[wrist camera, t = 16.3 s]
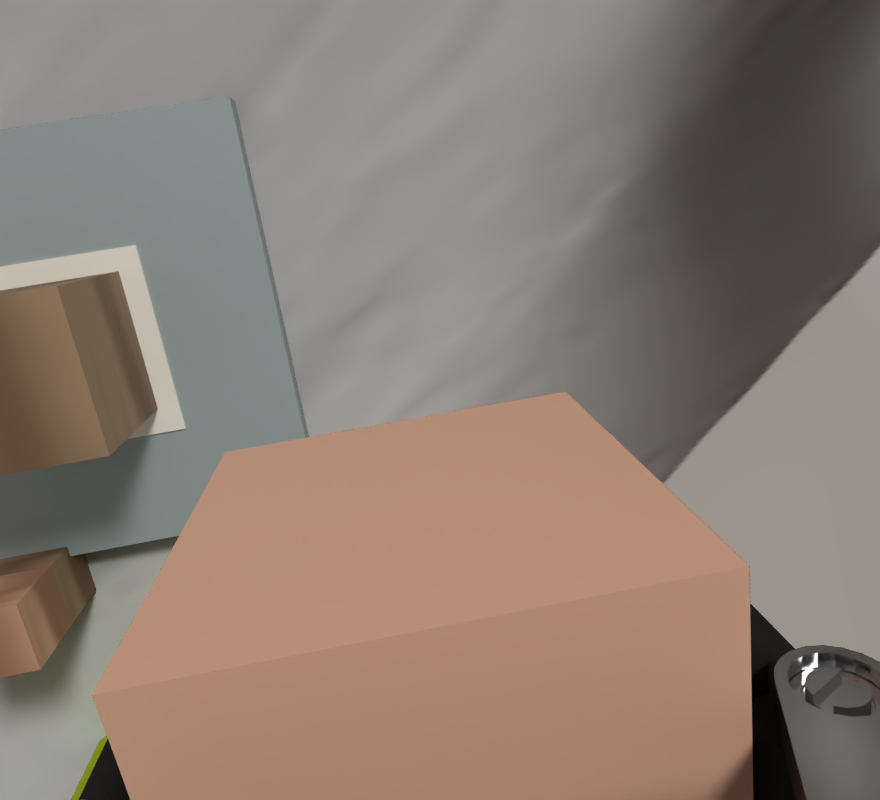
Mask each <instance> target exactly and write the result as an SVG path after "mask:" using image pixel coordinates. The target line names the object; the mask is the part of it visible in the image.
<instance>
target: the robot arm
mask: <svg viewBox="0 0 880 800" xmlns="http://www.w3.org/2000/svg"><path fill="white" fill-rule="evenodd" d="M750 625H751V684H752V744H753V800H880V662H879V661H877V660H875V659H873V658H871V657H868V656H866V655H864V654H862V653H859V652H856V651H852V650H849V649H845V648H841V647H833V646H824V645H819V646H805V647H801V648H798V649H795V648H793V646H792V645H791V644H790V643H788V641H787V640H786V639H785V638H784V637H783V636H782V635H781V634H780V633H779V632H778V631H777V630H776V629H775V628H774V627H773V626H772V625H771V624H770V623H769V622H768V621H767V620H766V619H765V618H764V617H763V616H762V615H761V614H760V613H759V612H758V611H757V610H756V609H755V608H754V607H753V606H752V605H751V604H750ZM78 800H130V797H129V795H128V792H127V789H126V786H125V784H124V781H123V778H122V775H121V773H120V770H119V767H118V764H117V762H116V759H115V756H114V754H113V751H112V748H111V745H110V743H109V740H108V739H107V741H106V743H105V745H104V747H103V749H102V751H101V753H100V756H99V758H98V760H97V762H96V764H95V766H94V768H93V770H92V772H91V774H90V776H89V779H88V781H87V783H86V785H85V787H84V789H83V791H82V793H81V795H80V797H79V799H78Z"/></svg>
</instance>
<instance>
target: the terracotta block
mask: <svg viewBox="0 0 880 800" xmlns="http://www.w3.org/2000/svg"><path fill="white" fill-rule="evenodd" d="M749 568H750V567H749V565H748V564H747V563H746V562H745V561H744V560H743V559H742V558H741V557H740V556H739V555H738V554H736V552H734V551H733V550H732V549H731V548H730V547H729V546H728V545H727V544H726V543H725V542H724V541H723V540H722V539H721V538H720V537H719V536H718V535H716V534H715V533H714V532H713V531H712V530H711V529H710V528H709V527H708V526H707V525H706V524H705V523H704V522H703V521H702V520H701V519H700V518H699V517H697V516H696V515H695V514H694V513H693V512H692V511H691V510H690V509H689V508H688V507H687V506H686V505H685V504H684V503H683V502H682V501H681V500H679V499H678V498H677V497H676V496H675V495H674V494H673V493H672V492H671V491H670V490H669V489H668V488H667V487H666V486H665V485H664V484H663V483H662V482H661V481H659V480H658V479H657V478H656V477H655V476H654V475H653V474H652V473H651V472H650V471H649V470H648V469H647V468H646V467H645V466H644V465H643V464H641V463H640V462H639V461H638V460H637V459H636V458H635V457H634V456H633V455H632V454H631V453H630V452H629V451H628V450H627V449H626V448H625V447H624V446H622V445H621V444H620V443H619V442H618V441H617V440H616V439H615V438H614V437H613V436H612V435H611V434H610V433H609V432H608V431H607V430H606V429H604V428H603V427H602V426H601V425H600V424H599V423H598V422H597V421H596V420H595V419H594V418H593V417H592V416H591V415H590V414H589V413H588V412H587V411H585V410H584V409H583V408H582V407H581V406H580V405H579V404H578V403H577V402H576V401H575V400H574V399H573V398H572V397H571V396H570V395H569V394H567V393H566V392H561V393H555V394H549V395H544V396H538V397H532V398H527V399H521V400H516V401H510V402H504V403H499V404H493V405H487V406H482V407H476V408H470V409H465V410H459V411H454V412H448V413H442V414H437V415H431V416H425V417H420V418H414V419H408V420H403V421H397V422H392V423H386V424H380V425H375V426H369V427H363V428H358V429H352V430H347V431H341V432H335V433H330V434H324V435H318V436H313V437H307V438H301V439H296V440H290V441H285V442H279V443H273V444H268V445H262V446H256V447H251V448H245V449H239V450H234V451H228V452H225V453H224V455H223V457H222V459H221V461H220V462H219V464H218V466H217V468H216V470H215V472H214V473H213V475H212V477H211V479H210V481H209V482H208V484H207V486H206V488H205V490H204V492H203V493H202V495H201V497H200V499H199V501H198V503H197V504H196V506H195V508H194V510H193V512H192V513H191V515H190V517H189V519H188V521H187V523H186V524H185V526H184V528H183V530H182V532H181V534H180V535H179V537H178V539H177V541H176V543H175V545H174V546H173V548H172V550H171V552H170V554H169V555H168V557H167V559H166V561H165V563H164V565H163V566H162V568H161V570H160V572H159V574H158V576H157V577H156V579H155V581H154V583H153V585H152V587H151V588H150V590H149V592H148V594H147V596H146V597H145V599H144V601H143V603H142V605H141V607H140V608H139V610H138V612H137V614H136V616H135V618H134V619H133V621H132V623H131V625H130V627H129V628H128V630H127V632H126V634H125V636H124V638H123V639H122V641H121V643H120V645H119V647H118V649H117V650H116V652H115V654H114V656H113V658H112V660H111V661H110V663H109V665H108V667H107V669H106V670H105V672H104V674H103V676H102V678H101V680H100V681H99V683H98V685H97V687H96V689H95V691H94V692H93V694H92V696H93V699H94V702H95V704H96V707H97V710H98V713H99V715H100V718H101V721H102V724H103V726H104V729H105V732H106V734H107V737H108V740H109V743H110V745H111V748H112V751H113V754H114V756H115V759H116V762H117V764H118V767H119V770H120V773H121V775H122V778H123V781H124V784H125V786H126V789H127V792H128V795H129V797H130V800H753V744H752V684H751V625H750V569H749Z"/></svg>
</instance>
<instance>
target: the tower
mask: <svg viewBox="0 0 880 800" xmlns="http://www.w3.org/2000/svg"><path fill="white" fill-rule="evenodd" d="M95 591H96V588H95V585H94V582H93V579H92V576H91V573H90V570H89V567H88V564H87V561H86V558H85V555H84V554H80V555H75V556H70V553H69V551H68V548H67V547H62V548H57V549H52V550H47V551H41V552H36V553H31V554H25V555H20V556H15V557H10V558H4V559H0V678H3V677H8V676H13V675H18V674H23V673H27V672H32V671H37V670H41V669H42V667H43V666H44V665H45V663H46V662H47V660H48V659H49V657H50V656H51V654H52V653H53V652H54V650H55V649H56V647H57V646H58V644H59V643H60V641H61V640H62V639H63V637H64V636H65V634H66V633H67V631H68V630H69V629H70V627H71V626H72V624H73V623H74V621H75V620H76V618H77V617H78V616H79V614H80V613H81V611H82V610H83V608H84V607H85V606H86V604H87V603H88V601H89V600H90V598H91V597H92V595H93V594H94V593H95Z"/></svg>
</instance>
